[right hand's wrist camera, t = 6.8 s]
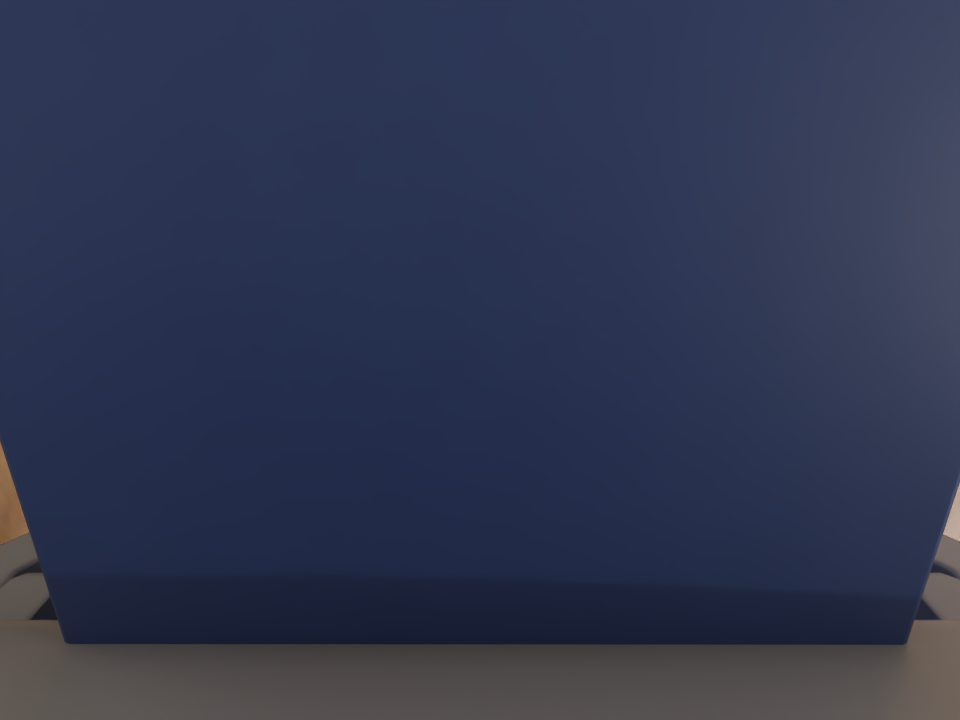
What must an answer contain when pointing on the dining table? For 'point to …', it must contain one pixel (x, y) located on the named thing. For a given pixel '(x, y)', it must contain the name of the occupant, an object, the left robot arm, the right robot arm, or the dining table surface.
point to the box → (481, 317)
